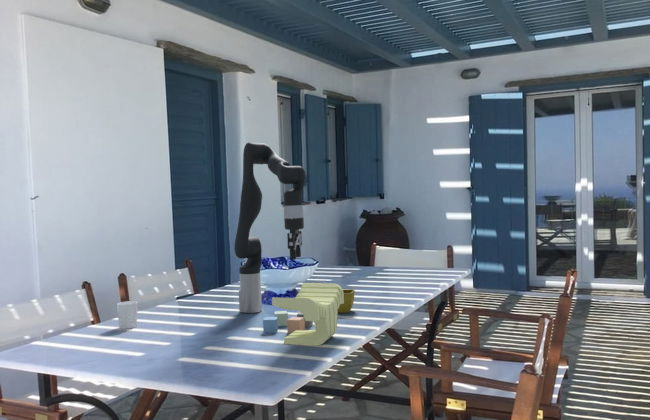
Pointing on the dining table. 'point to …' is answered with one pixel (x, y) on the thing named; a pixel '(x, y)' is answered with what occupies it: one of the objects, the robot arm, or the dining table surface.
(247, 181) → the robot arm
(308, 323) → the charcoal block
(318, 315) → the slatted curved stool
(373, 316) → the dining table surface
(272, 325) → the blue block
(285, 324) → the sage block
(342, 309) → the flower pot
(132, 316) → the white cup
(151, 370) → the dining table surface
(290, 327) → the terracotta block
